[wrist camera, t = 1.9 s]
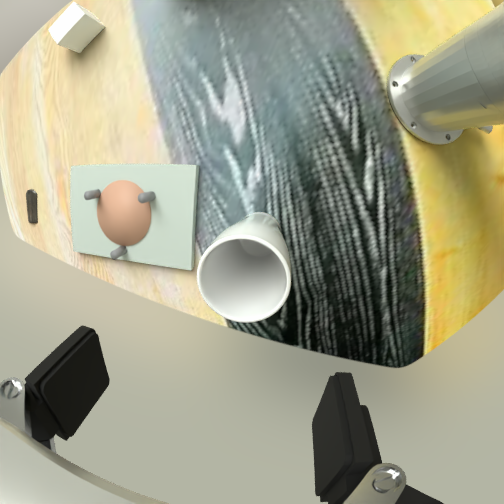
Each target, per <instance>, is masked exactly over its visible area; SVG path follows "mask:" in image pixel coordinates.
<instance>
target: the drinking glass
mask: <svg viewBox="0 0 504 504" xmlns="http://www.w3.org/2000/svg"><path fill="white" fill-rule="evenodd" d="M197 283H198V288H199V291H200V293H201V295H202V297H203V299H204V301H205V302H206V303H207V305H208V306H209V307H210V308H211V309H212V310H213V311H215V312H216V313H217V314H219V315H221V316H222V317H224V318H227V319H229V320H232V321H236V322H256V321H260V320H263V319H266V318H268V317H270V316H271V315H273V314H274V313H276V312H277V311H278V310H279V309H280V308H281V307H282V305H283V304H284V303H285V301H286V299H287V297H288V295H289V291H290V287H291V260H290V255H289V251H288V248H287V245H286V242H285V240H284V238H283V235H282V230H281V227H280V225H279V223H278V221H277V220H276V219H275V218H274V217H273V216H271V215H269V214H267V213H264V212H254V213H251V214H248V215H247V216H245V217H244V218H243V219H242V220H240V221H239V222H237V223H235V224H233V225H232V226H230V227H228V228H227V229H225V230H224V231H223V232H222V233H220V234H219V235H218V236H217V237H216V238H215V239H214V241H213V242H212V243H211V244H210V245H209V247H208V248H207V250H206V251H205V252H204V254H203V255H202V257H201V259H200V262H199V265H198V269H197Z"/></svg>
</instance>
